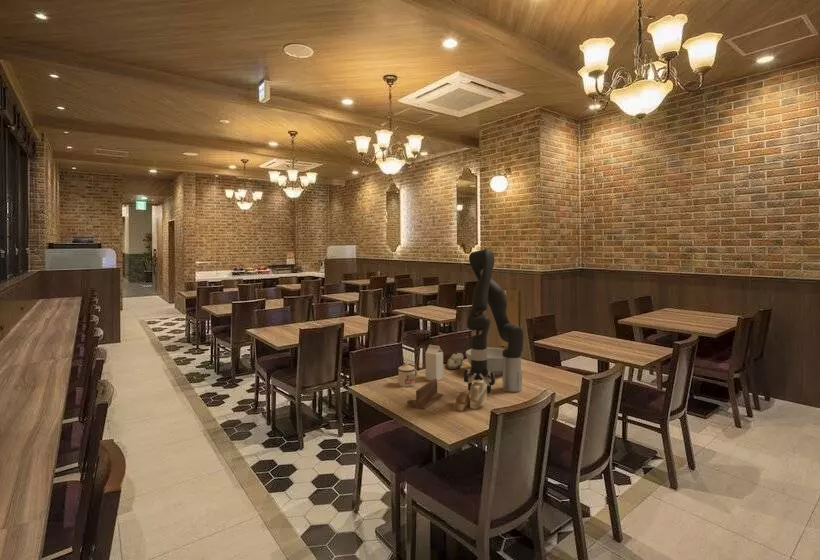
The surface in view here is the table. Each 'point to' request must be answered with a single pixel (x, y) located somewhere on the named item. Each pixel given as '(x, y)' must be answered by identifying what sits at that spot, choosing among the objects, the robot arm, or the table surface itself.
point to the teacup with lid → (407, 375)
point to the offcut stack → (462, 401)
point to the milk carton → (434, 363)
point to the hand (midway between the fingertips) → (479, 392)
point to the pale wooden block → (478, 394)
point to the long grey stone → (455, 361)
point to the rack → (425, 396)
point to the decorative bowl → (491, 359)
